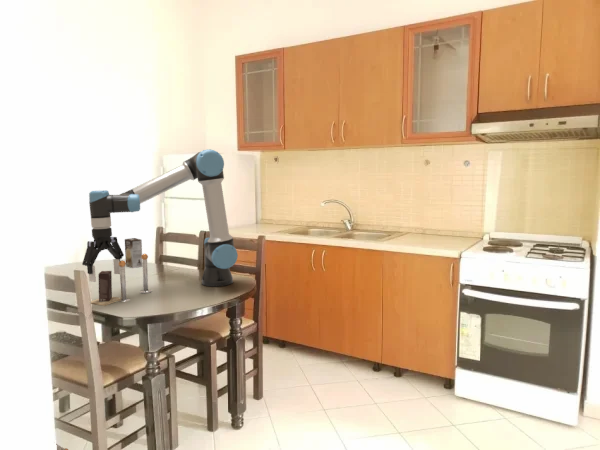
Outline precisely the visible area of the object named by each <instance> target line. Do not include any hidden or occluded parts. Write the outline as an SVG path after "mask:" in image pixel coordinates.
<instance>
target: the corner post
mask: <svg viewBox="0 0 600 450" xmlns="http://www.w3.org/2000/svg"><path fill="white" fill-rule="evenodd" d="M119 266H120V274H119V275H120V276H119V280H120V281H119V282H120V298H121V300H119V301H117V302H119V303H122V302H123V303H125V302H130V301H131V299H130V298H127V284H126V267H125V266H126V260H122V259H121V260H120V262H119Z"/></svg>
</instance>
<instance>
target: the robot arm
mask: <svg viewBox="0 0 600 450" xmlns="http://www.w3.org/2000/svg"><path fill="white" fill-rule="evenodd" d="M224 166H225V161H224V158H223V156H222V154H221V153H220V152H218V151H216V150H215V149H203V150H201V151H199V152H197V153H196V154H194V155H193V156H192V157H190V158H188V159H187V160H184V161H183V162H182V164H181V165H179V166H176V167H175V168H173V169H170V170H169V171H166V172H165V173H162V174H160V175H158V176H156V177H154V178H152V179H150V180H147V181H146V182H143V183H142V184H140V185H137V186H136V187H133V188H132V189H131V188H130V190H127V191H124V192H122V193H120V194H110V193H109V190H91V191H89V193H88V194H89V195H88V197H89V199H88V201H89V203H88V204H89V212H90V223H91V225H90V226H91V228H92V229H91V236H92V238H93V240H92V241H91V240H89V241H87V243H86V245H87V247H86V250H85V253H84V257H83V260H82V266H85V267H87V268H86V269H87V274H88V278H89V279H88V280H89V282H94V283H95V282H97V276H96V266H95V265H94V264H95V262H96V260H97V258H98V257H99V254H100V253H101V252H102V251H104V250H107V251H108V252H109V253H110V255H112V257H113V259H112V260H113V261H112V262H113V263H112V264H113V273H114V275H120V266H119V262H120V261H121V260H122V259H123V257H124V255H125V254H124V252H123V250H122V248H121V246H120V244H119V243H118V237H117V236H113V233H112V231H113V230H112V227H111V226H112V221H111V220H112V219H111V214H115V213H117V214H118V213H135V212H140V211H141V204H143V203H144V202H147V201H149V200H151V199H152V198H155V197H156V196H159V195H161V194H163V193H165V192H167V191H169V190H172V189H173V188H175V187H178V186H179V185H181V184H184V183H185V182H188V181H190V180H191V181H194V180H197V183H199V184H201V186H202V192H203V198H204V205H205V210H206V218H207V224H208V231H209V237H206V238H204V241H203V245H204V270H203V273H202V278H201V285H203V286H204V287H205V286H206V287H223V286H229V285H231V284H233V283H234V279H233V278H234V277H233V275H232V272H231V269H230V268H231V267H234V265H235V264H236V263H237V260H238V256H239V255H238V251H237V248H236V247H235V241H234V236H233V235H231V234H230V232H229V225H228V219H227V217H228V216H227V212H226V206H225V205H226V204H225V198H224V191H223V185H222V182H223V181H224V180H225V176H224V175H225V174H224Z"/></svg>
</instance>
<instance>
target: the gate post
mask: <svg viewBox="0 0 600 450" xmlns="http://www.w3.org/2000/svg"><path fill="white" fill-rule="evenodd" d="M141 257H142V281H143V282H142V285H143V287H142V289H141V290H139V294H150V293H152V292H153V291H152V289H149V276H148V275H149V274H148V271H149V270H148V258H149V255H148V254H147V253H142V256H141Z"/></svg>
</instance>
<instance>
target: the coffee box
mask: <svg viewBox="0 0 600 450" xmlns="http://www.w3.org/2000/svg"><path fill="white" fill-rule="evenodd" d="M124 253H125V254H124V255H125V263H126V265H125V266H127V267H129V268H132V269H134V268H139V267H140V268H141V267H143V261H142V257H141V256H142V255H143V243H142V239H140V238H135V237H131V238H125V239H124Z"/></svg>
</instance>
